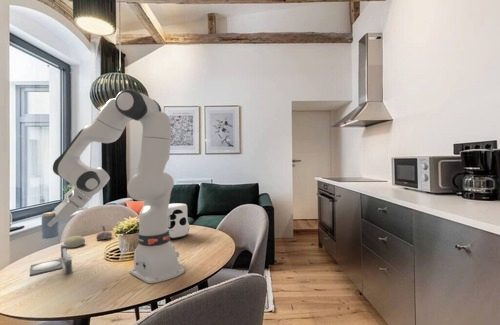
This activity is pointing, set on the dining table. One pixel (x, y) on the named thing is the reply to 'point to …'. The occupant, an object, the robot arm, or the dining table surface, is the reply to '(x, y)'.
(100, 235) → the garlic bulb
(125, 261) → the dining table surface
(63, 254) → the dark grey flat bar
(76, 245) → the sea urchin shell
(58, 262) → the resting mat
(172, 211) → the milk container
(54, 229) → the ceramic jar
